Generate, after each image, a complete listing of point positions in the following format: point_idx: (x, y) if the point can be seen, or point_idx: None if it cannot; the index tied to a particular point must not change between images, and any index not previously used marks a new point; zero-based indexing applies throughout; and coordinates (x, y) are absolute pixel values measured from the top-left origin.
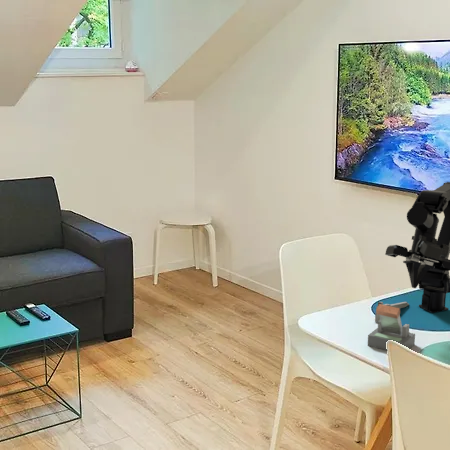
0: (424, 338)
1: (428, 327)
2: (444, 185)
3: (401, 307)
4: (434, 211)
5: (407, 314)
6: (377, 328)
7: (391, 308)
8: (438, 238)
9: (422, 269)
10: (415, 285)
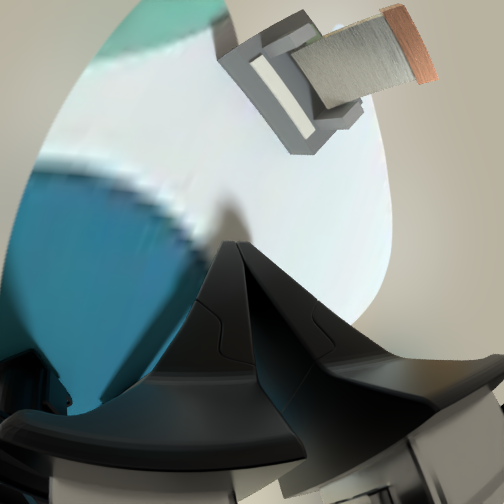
0: (152, 97)
1: (83, 208)
2: None
3: (133, 386)
4: None
5: (121, 343)
6: (327, 136)
7: (416, 30)
8: None
9: (258, 380)
10: (238, 248)
